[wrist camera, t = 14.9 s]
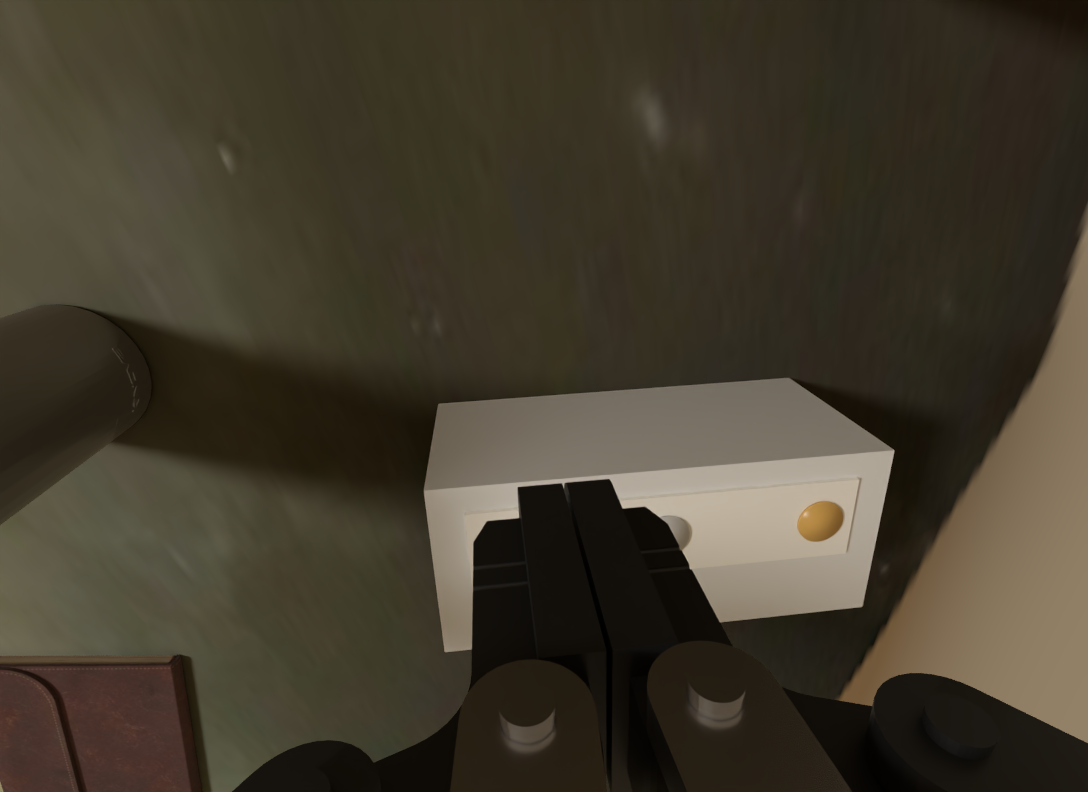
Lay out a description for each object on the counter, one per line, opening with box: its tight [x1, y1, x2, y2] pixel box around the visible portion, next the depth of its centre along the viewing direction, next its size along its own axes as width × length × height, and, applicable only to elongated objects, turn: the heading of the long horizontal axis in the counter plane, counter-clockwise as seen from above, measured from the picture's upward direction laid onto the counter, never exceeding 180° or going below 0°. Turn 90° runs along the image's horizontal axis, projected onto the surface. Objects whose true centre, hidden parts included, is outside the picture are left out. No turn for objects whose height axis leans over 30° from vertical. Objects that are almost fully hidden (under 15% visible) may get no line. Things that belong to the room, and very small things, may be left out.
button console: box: [424, 378, 895, 652], centre depth 39 cm, size 26×11×12 cm, turn 92°
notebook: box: [0, 655, 202, 792], centre depth 49 cm, size 15×20×2 cm
